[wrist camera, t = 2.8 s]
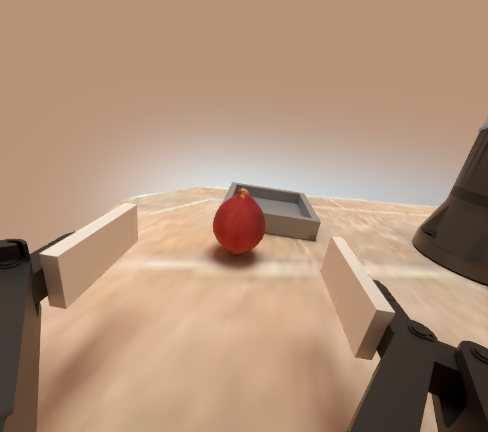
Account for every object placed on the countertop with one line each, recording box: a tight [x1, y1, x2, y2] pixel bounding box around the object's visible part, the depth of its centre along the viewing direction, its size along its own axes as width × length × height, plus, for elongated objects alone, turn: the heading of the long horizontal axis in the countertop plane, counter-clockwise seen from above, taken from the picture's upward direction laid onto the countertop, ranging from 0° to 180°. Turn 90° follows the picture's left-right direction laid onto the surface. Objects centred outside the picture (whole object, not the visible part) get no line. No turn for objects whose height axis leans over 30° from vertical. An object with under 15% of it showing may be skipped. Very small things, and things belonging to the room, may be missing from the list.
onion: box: [213, 188, 265, 255], centre depth 26 cm, size 6×6×8 cm
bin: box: [222, 183, 320, 241], centre depth 40 cm, size 14×14×3 cm
